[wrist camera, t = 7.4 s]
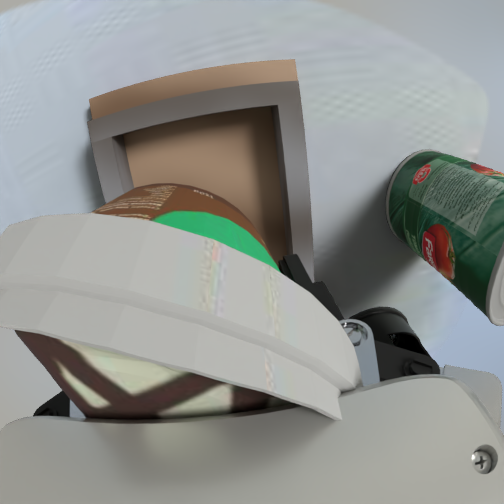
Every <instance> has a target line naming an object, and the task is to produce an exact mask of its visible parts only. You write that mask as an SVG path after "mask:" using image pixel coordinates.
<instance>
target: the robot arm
mask: <svg viewBox="0 0 504 504" xmlns="http://www.w3.org/2000/svg"><path fill="white" fill-rule="evenodd" d="M278 264H279V270H280V272H281V273H282V274H283V275H285V276H286V277H288V278H289V279H291V280H292V281H294V282H295V283H296V284H298V285H299V286H301V287H302V288H304V289H305V290H307V291H308V292H310V293H311V294H312V295H313V296H314V297H315V298H316V299H317V300H318V301H319V302H320V303H321V304H322V305H323V306H324V307H325V308H326V309H327V310H328V311H329V312H330V313H331V314H332V315H333V316H334V317H335V318H336V319H337V320H338V321H339V323H340V324H341V326H342V327H343V329H344V331H345V332H346V334H347V336H348V337H349V339H350V341H351V342H352V344H353V346H354V348H355V352H356V355H357V359H358V363H359V367H360V372H361V377H362V383H363V387H359V388H356V389H355V390H351V391H348V392H344V393H341V395H340V396H339V397H338V398H337V399H338V403H339V407H340V412H341V416H342V420H334V419H332V418H330V417H328V416H326V415H324V414H322V413H320V412H318V411H316V410H314V409H312V408H309V407H305V406H302V405H299V404H296V403H292V404H287V405H282V406H277V407H271V408H265V409H259V410H253V411H246V412H239V413H231V414H223V415H213V416H203V417H190V418H174V419H143V420H125V419H96V418H86V417H85V416H84V414H83V413H82V412H81V411H80V410H79V409H78V408H77V406H76V405H75V404H74V403H73V402H72V401H71V400H70V398H69V397H68V396H67V395H66V394H65V392H64V391H61V392H60V393H59V394H57V395H56V396H54V397H53V398H52V399H50V400H49V401H47V402H46V403H45V404H43V405H42V406H40V407H39V408H38V409H37V410H36V411H35V413H34V415H33V417H25V418H21V419H18V420H15V421H13V422H10V423H8V424H7V425H5V426H4V427H3V428H2V430H1V431H0V504H504V435H503V433H502V431H501V430H500V422H501V404H502V386H501V382H500V380H499V379H498V377H496V376H495V375H494V374H491V373H489V372H482V371H477V370H470V369H465V368H460V367H454V366H449V365H445V366H444V368H442V367H439V365H438V364H437V363H436V361H435V360H433V359H432V358H431V357H428V356H426V355H423V354H419V353H416V352H412V351H409V350H406V349H402V348H399V347H396V346H392V345H389V344H386V343H383V342H379V341H376V340H374V338H373V333H372V330H371V328H370V327H369V326H368V325H367V324H366V323H364V322H362V321H359V320H356V319H346V320H345V319H344V318H343V316H342V314H341V312H340V310H339V309H338V307H337V305H336V303H335V302H334V300H333V298H332V296H331V295H330V293H329V291H328V289H327V288H326V286H325V284H324V283H323V282H322V281H321V282H316V283H312V281H311V279H310V277H309V275H308V273H307V271H306V270H305V268H304V266H303V264H302V262H301V260H300V258H299V256H298V255H297V254H292V255H286V256H283V260H279V261H278Z"/></svg>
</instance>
